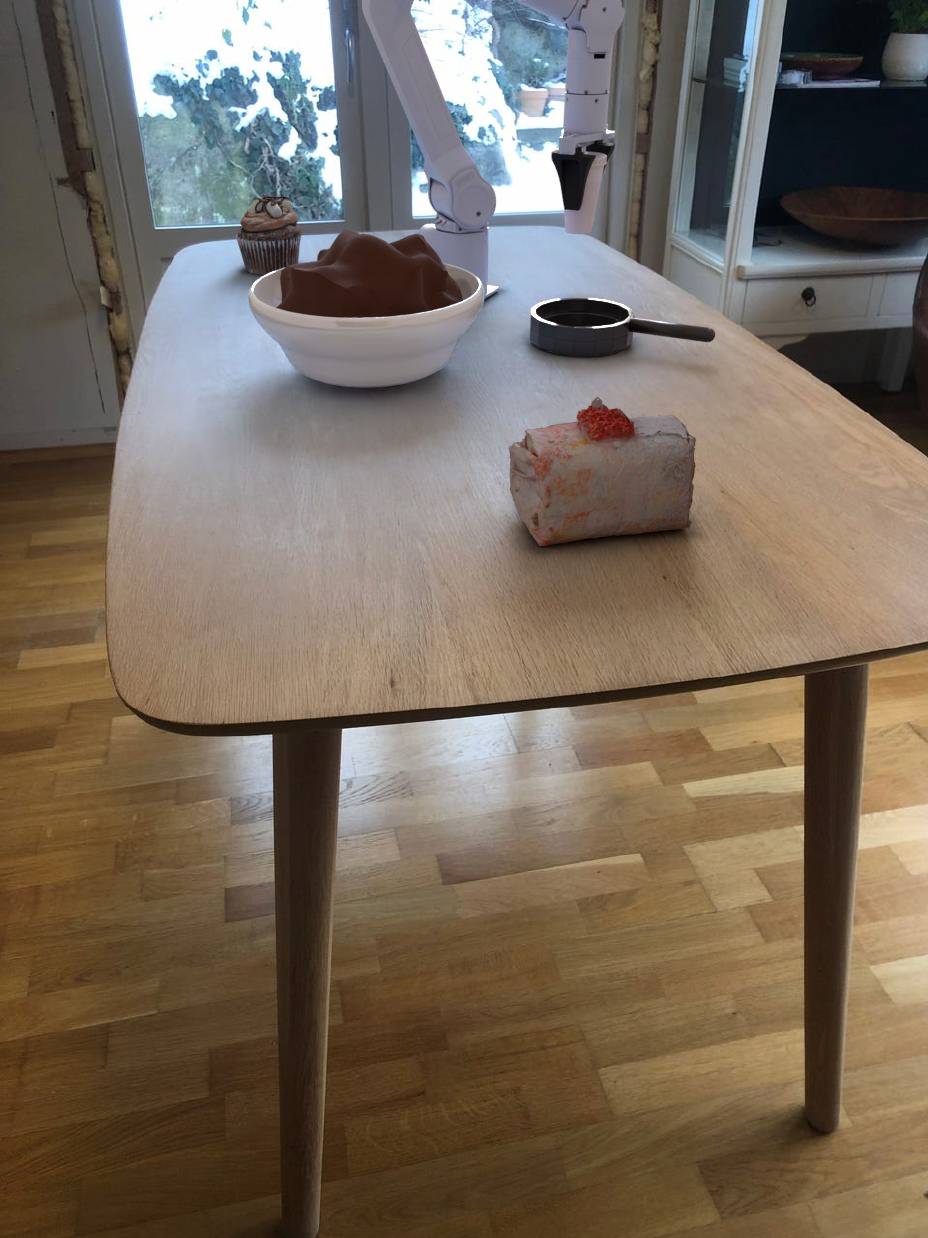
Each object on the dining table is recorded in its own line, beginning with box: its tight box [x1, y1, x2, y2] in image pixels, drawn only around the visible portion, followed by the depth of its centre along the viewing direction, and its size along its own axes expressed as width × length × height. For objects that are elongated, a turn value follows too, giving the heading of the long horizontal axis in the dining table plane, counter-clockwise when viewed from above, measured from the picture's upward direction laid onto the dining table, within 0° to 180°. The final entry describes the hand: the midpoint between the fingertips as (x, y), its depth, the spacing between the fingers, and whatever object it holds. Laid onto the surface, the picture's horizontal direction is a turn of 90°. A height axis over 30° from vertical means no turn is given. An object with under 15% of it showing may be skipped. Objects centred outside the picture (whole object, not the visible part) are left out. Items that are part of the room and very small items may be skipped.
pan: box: [529, 297, 636, 358], centre depth 114 cm, size 12×12×4 cm
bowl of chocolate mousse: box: [247, 229, 485, 388], centre depth 102 cm, size 25×25×15 cm
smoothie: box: [563, 147, 608, 235], centre depth 129 cm, size 6×6×14 cm
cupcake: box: [235, 194, 303, 276], centre depth 141 cm, size 10×10×10 cm
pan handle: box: [629, 317, 716, 343], centre depth 110 cm, size 11×2×2 cm, turn 65°
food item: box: [508, 396, 697, 547], centre depth 74 cm, size 14×8×10 cm, turn 102°
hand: (580, 205), depth 131 cm, fingers closed on smoothie, 6 cm apart
